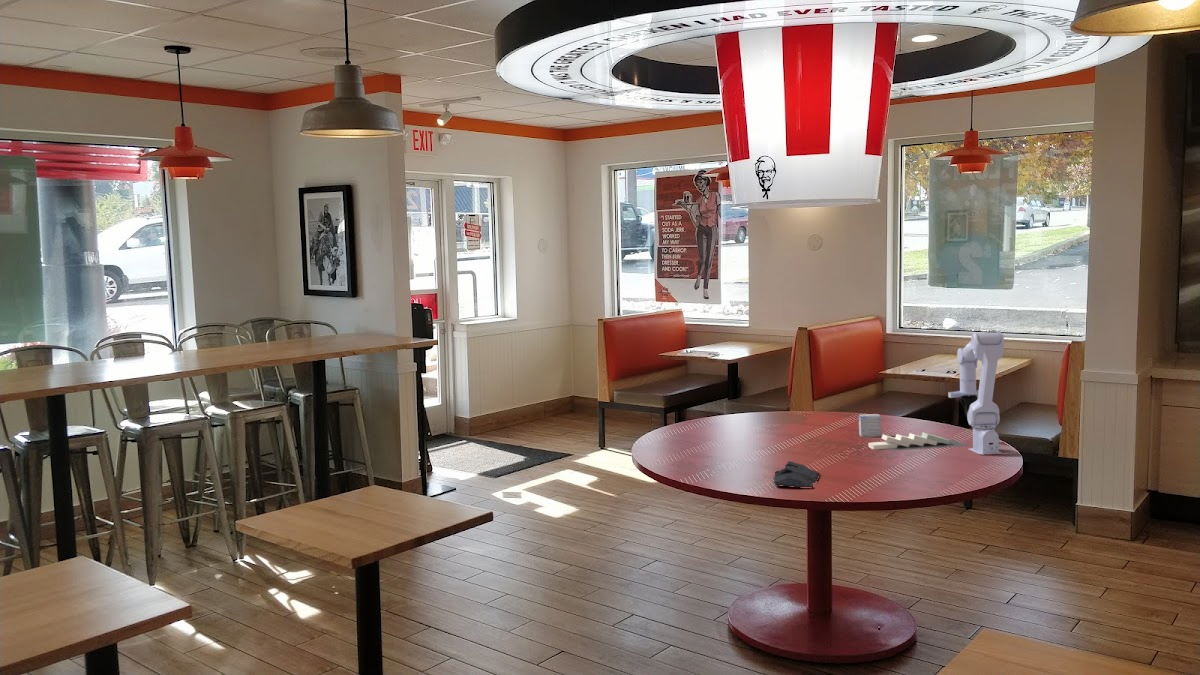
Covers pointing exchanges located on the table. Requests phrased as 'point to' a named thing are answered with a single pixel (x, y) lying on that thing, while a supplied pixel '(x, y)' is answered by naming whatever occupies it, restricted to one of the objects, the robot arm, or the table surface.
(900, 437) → the domino
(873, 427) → the medicine box
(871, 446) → the domino
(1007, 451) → the table surface
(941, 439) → the domino
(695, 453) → the table surface
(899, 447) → the charcoal mat
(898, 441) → the domino
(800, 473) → the dark slate chunk
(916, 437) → the domino
